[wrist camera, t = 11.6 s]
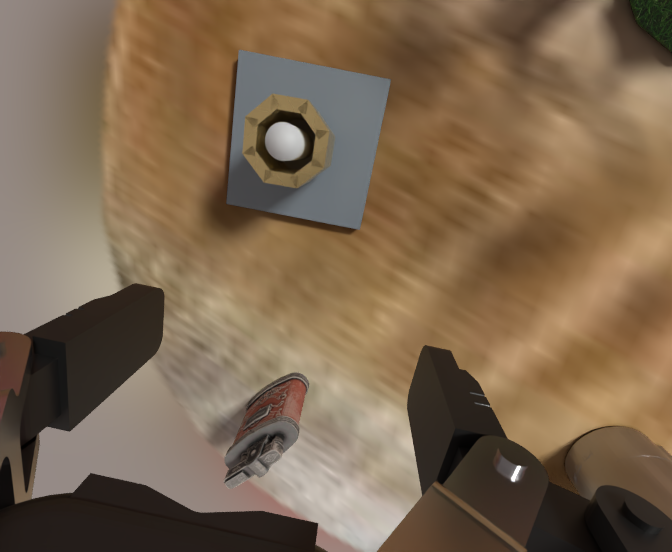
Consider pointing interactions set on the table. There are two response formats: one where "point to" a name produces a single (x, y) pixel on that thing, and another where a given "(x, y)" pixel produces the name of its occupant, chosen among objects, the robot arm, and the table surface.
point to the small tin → (266, 429)
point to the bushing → (286, 111)
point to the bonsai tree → (655, 19)
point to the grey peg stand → (309, 138)
